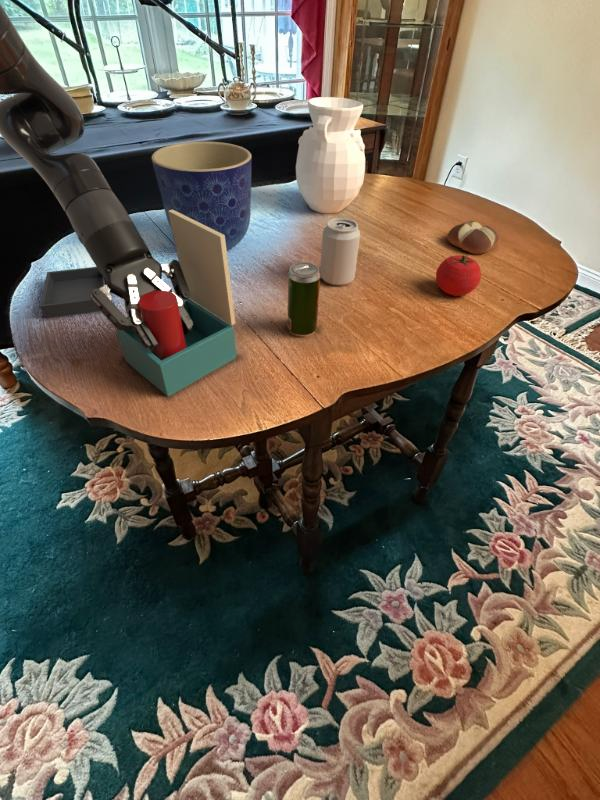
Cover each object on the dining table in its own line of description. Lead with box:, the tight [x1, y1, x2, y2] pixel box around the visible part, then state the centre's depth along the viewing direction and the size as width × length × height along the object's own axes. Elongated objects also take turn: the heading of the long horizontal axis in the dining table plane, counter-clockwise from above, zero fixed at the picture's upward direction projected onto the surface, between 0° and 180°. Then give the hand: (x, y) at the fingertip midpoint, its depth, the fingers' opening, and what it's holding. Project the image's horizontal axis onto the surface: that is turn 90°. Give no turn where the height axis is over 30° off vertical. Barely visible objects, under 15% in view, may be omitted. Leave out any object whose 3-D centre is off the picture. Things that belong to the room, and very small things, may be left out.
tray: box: [39, 266, 111, 319], centre depth 84 cm, size 11×13×3 cm
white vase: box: [295, 96, 366, 214], centre depth 113 cm, size 19×18×25 cm
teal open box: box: [115, 298, 237, 397], centre depth 70 cm, size 14×12×6 cm
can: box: [319, 217, 361, 287], centre depth 89 cm, size 8×8×12 cm
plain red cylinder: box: [138, 290, 187, 361], centre depth 64 cm, size 5×5×12 cm
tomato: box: [435, 254, 482, 297], centre depth 88 cm, size 9×9×8 cm
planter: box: [151, 141, 253, 250], centre depth 97 cm, size 21×21×19 cm
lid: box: [168, 210, 236, 326], centre depth 66 cm, size 14×12×1 cm
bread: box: [446, 220, 499, 255], centre depth 106 cm, size 11×11×5 cm
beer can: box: [286, 261, 321, 338], centre depth 75 cm, size 5×5×12 cm
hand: (172, 339), depth 63 cm, fingers closed on plain red cylinder, 5 cm apart
